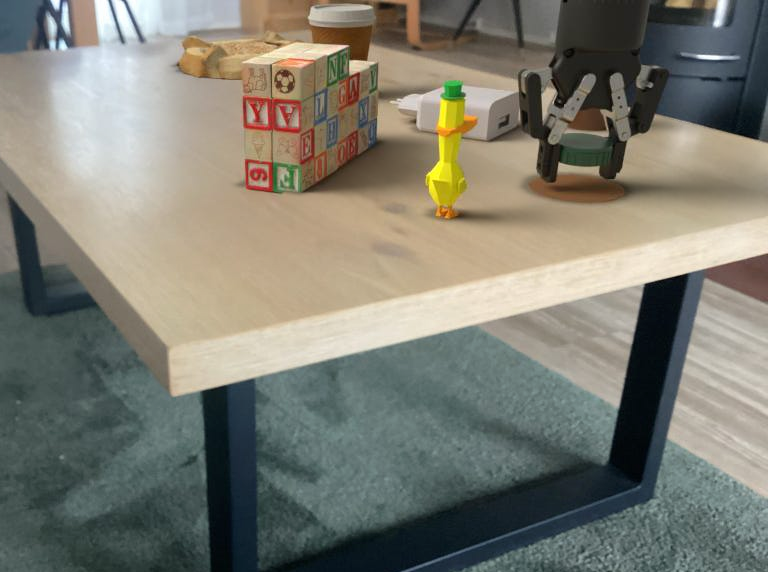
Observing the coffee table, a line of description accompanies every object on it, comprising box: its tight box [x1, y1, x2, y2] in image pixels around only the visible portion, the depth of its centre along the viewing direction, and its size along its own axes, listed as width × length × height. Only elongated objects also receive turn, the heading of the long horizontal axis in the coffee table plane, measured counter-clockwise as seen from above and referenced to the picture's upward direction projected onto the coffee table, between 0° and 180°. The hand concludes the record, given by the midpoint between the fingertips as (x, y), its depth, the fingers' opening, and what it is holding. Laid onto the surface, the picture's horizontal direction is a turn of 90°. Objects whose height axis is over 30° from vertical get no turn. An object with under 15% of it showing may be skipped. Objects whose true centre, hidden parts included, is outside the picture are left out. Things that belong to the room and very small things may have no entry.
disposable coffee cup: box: [307, 3, 377, 61], centre depth 122 cm, size 10×10×12 cm
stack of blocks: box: [241, 42, 379, 194], centre depth 90 cm, size 21×6×12 cm, turn 155°
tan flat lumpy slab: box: [175, 29, 307, 80], centre depth 146 cm, size 24×24×5 cm
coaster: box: [528, 174, 626, 204], centre depth 84 cm, size 9×9×1 cm
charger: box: [389, 84, 520, 142], centre depth 106 cm, size 5×9×15 cm
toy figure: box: [425, 80, 478, 219], centre depth 75 cm, size 7×4×12 cm, turn 142°
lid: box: [558, 132, 613, 168], centre depth 83 cm, size 6×6×2 cm
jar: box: [567, 108, 607, 132], centre depth 104 cm, size 5×5×10 cm
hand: (577, 178), depth 84 cm, fingers closed on lid, 5 cm apart
